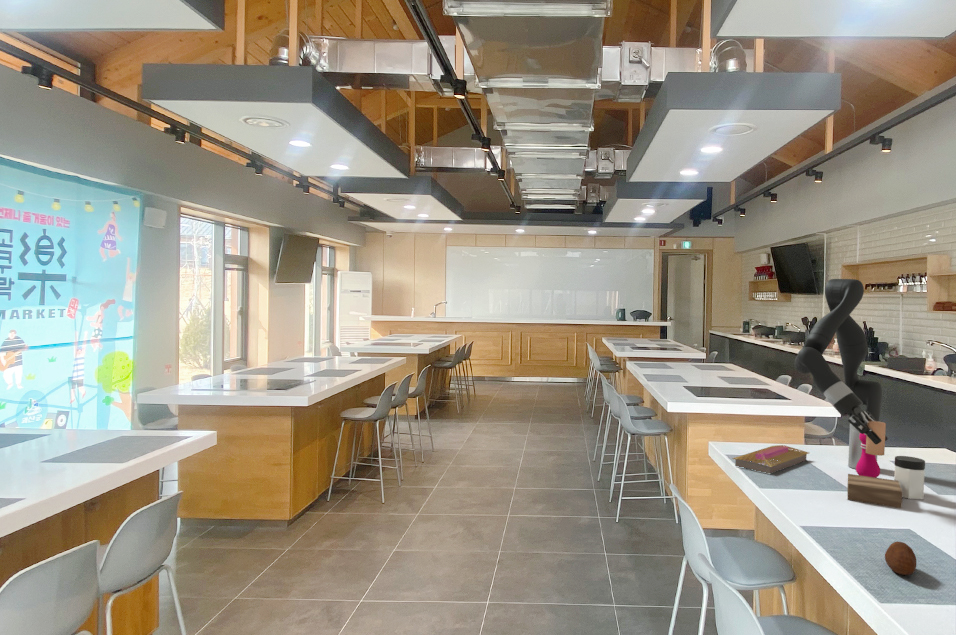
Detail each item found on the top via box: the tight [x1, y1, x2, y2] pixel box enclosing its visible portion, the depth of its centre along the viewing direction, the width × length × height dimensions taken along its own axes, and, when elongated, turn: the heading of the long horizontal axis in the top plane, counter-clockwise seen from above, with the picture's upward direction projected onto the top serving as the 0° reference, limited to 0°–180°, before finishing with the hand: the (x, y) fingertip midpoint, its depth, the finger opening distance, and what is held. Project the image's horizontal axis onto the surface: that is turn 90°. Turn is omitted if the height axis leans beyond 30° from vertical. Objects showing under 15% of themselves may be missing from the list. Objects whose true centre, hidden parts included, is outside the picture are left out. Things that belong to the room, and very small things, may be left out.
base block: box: [846, 473, 903, 509], centre depth 198 cm, size 14×14×5 cm
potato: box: [884, 541, 917, 576], centre depth 143 cm, size 6×12×6 cm, turn 158°
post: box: [866, 420, 887, 456], centre depth 198 cm, size 5×5×10 cm
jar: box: [893, 455, 926, 500], centre depth 202 cm, size 9×8×12 cm
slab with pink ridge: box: [731, 444, 810, 474], centre depth 239 cm, size 35×14×6 cm, turn 132°
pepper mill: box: [855, 433, 881, 478], centre depth 215 cm, size 7×7×20 cm
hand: (882, 441), depth 196 cm, fingers closed on post, 5 cm apart
